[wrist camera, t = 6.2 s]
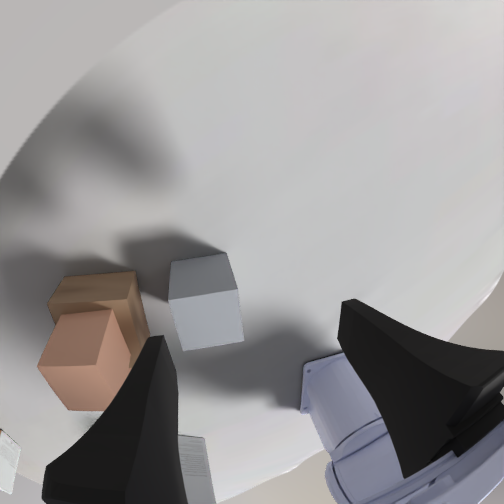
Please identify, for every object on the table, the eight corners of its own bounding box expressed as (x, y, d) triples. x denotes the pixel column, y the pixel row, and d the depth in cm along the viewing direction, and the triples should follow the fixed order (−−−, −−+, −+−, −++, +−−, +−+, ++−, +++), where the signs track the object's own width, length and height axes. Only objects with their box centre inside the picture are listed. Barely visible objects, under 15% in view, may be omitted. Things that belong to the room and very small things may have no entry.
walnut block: (150, 333, 23) (146, 367, 19) (86, 335, 21) (75, 367, 18) (135, 269, 20) (126, 299, 17) (65, 275, 19) (46, 303, 15)
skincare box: (195, 456, 32) (206, 530, 22) (164, 452, 31) (171, 529, 20) (206, 437, 30) (221, 521, 20) (172, 433, 29) (180, 521, 18)
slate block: (232, 299, 23) (244, 341, 18) (181, 307, 22) (182, 351, 18) (226, 252, 21) (237, 289, 16) (171, 261, 20) (168, 300, 16)
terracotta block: (130, 354, 18) (123, 410, 14) (82, 357, 18) (68, 410, 13) (112, 308, 17) (96, 365, 12) (61, 314, 16) (36, 366, 12)
